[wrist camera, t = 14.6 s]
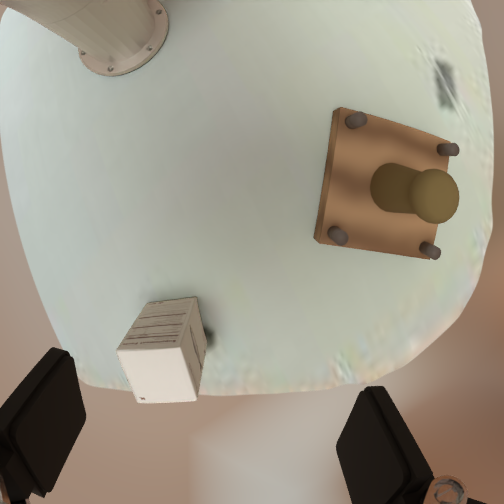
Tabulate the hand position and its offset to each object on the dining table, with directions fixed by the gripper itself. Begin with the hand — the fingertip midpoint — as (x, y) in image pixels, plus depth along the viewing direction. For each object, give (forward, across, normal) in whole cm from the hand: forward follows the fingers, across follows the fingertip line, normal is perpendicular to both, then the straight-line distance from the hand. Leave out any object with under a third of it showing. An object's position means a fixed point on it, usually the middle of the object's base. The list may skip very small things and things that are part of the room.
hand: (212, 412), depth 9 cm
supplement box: (+31, +6, +14) cm, 34 cm away
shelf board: (+30, -18, -8) cm, 36 cm away
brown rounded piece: (+28, -18, -8) cm, 34 cm away
